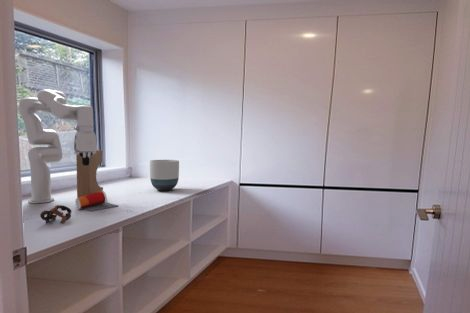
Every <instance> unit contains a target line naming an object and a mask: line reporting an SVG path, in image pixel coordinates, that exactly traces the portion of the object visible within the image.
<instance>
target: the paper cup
mask: <svg viewBox="0 0 470 313" xmlns="http://www.w3.org/2000/svg"><path fill="white" fill-rule="evenodd" d="M107 199H108V198H107V194H106V192H105V191H104V190H103V191H101V190H99V191H98V192H95V193H92V194H89V195H85V196H82V197H79V198H77V197H76V199H75V206H76V208H78V209H82V208H85V207H89V206H94V205H98V204H104V203H105V202H107Z"/></svg>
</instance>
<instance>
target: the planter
mask: <svg viewBox="0 0 470 313" xmlns="http://www.w3.org/2000/svg"><path fill="white" fill-rule="evenodd" d="M149 176H150V177H149V178H150V183H151V185H152V187H153V188H154V189H155V190H158V191H161V192H168V191H171V190H173V189H174V188H175V187H176V186H177V185H178V184H179V183H178V182H179V176H180V160H178V159H152V160H150V161H149Z"/></svg>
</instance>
